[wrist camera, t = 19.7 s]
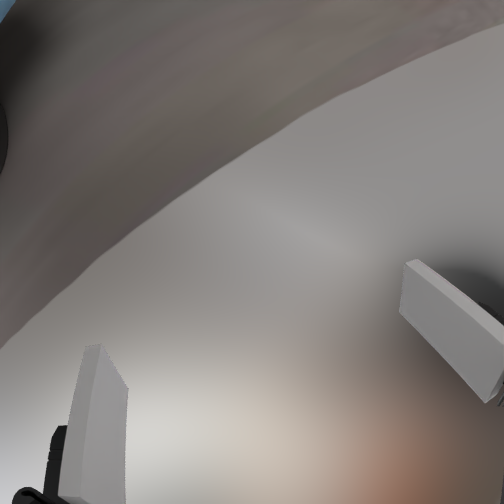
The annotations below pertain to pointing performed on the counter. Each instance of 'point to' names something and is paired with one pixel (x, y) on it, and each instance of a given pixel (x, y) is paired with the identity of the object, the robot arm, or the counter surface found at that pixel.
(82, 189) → the counter surface
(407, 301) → the robot arm
